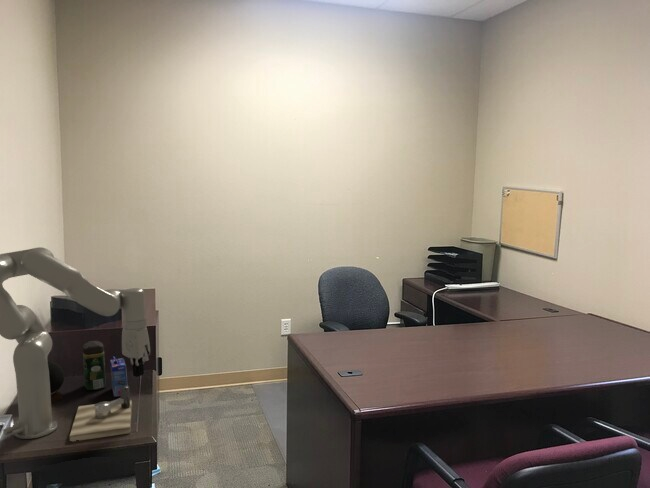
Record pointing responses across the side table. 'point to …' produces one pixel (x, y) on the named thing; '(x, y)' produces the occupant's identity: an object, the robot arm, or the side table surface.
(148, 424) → the side table surface
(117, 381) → the ink cartridge box
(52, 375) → the black half-round shape
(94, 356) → the coffee jar
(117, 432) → the birch stand
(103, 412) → the crank dial
